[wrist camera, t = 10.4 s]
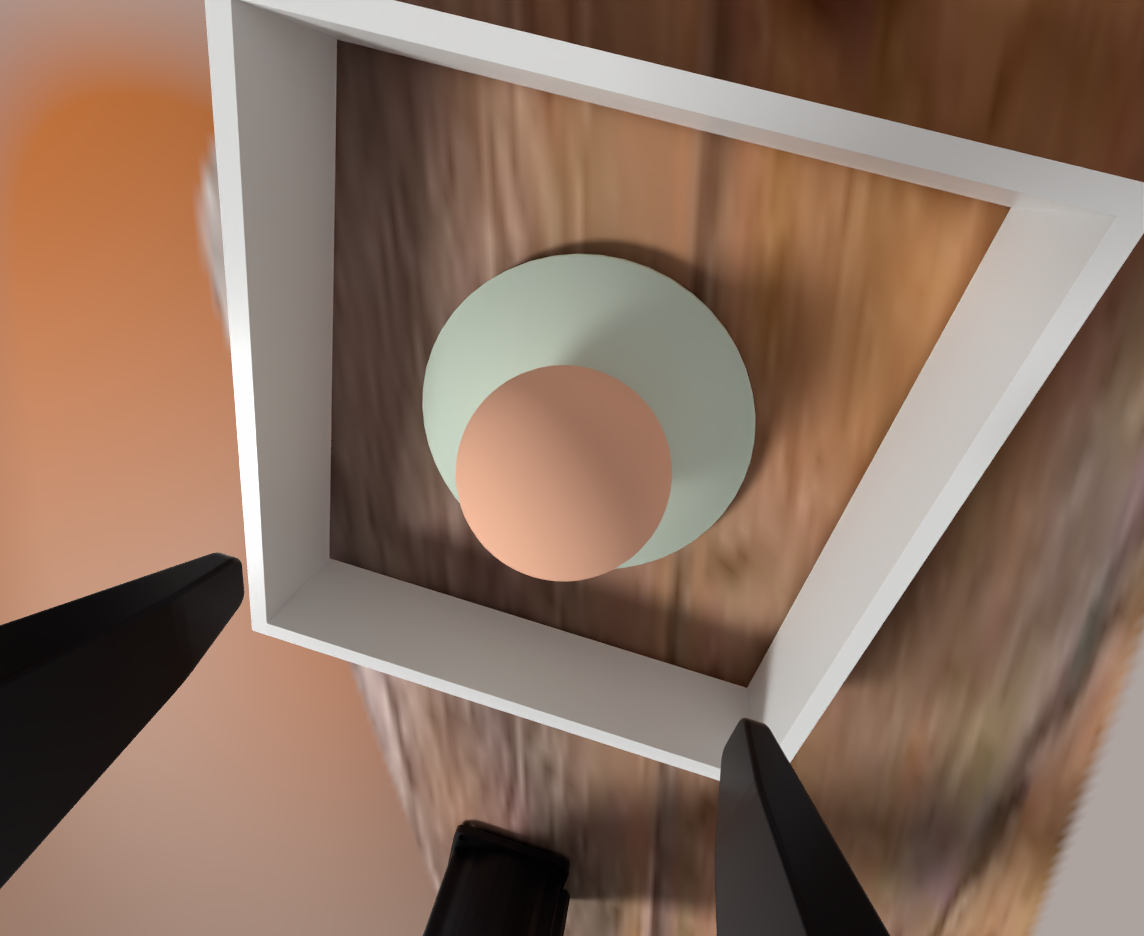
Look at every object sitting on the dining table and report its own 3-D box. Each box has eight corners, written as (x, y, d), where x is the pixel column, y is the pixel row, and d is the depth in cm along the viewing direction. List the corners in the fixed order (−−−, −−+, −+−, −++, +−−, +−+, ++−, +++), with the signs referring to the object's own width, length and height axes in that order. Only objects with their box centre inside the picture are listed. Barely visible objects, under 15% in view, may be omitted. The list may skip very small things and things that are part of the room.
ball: (481, 482, 20) (410, 590, 15) (508, 318, 17) (431, 379, 12) (644, 529, 20) (629, 656, 15) (699, 370, 17) (706, 455, 12)
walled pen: (316, 564, 24) (252, 630, 21) (316, 6, 15) (200, -47, 11) (756, 702, 23) (767, 796, 19) (1050, 187, 14) (1173, 189, 10)
